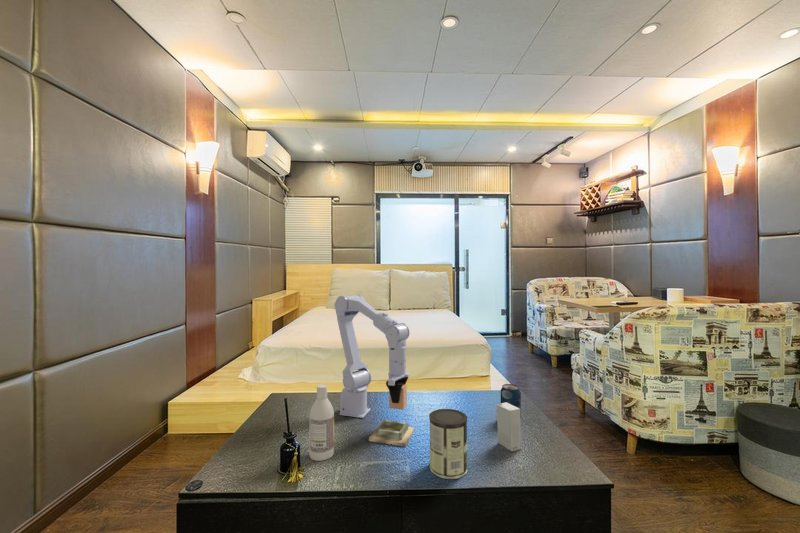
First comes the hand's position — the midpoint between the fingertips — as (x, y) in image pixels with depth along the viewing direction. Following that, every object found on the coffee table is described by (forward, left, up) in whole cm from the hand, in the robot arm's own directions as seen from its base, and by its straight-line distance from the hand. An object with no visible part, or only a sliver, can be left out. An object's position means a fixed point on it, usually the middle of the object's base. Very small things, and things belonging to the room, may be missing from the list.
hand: (397, 400), depth 117 cm
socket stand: (0, -5, -9) cm, 11 cm away
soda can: (+37, +18, -10) cm, 42 cm away
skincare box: (+36, -1, -10) cm, 37 cm away
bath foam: (-16, -22, -10) cm, 29 cm away
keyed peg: (0, 0, -2) cm, 2 cm away
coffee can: (+20, -18, -10) cm, 29 cm away
